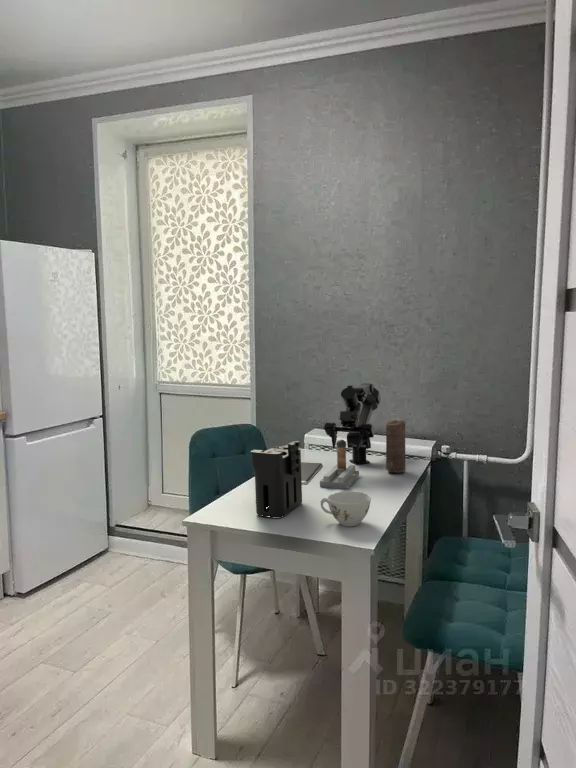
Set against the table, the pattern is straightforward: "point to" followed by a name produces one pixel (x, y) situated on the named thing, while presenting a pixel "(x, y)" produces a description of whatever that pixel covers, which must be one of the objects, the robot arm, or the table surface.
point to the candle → (395, 446)
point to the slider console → (339, 478)
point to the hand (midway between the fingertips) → (345, 448)
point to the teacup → (348, 507)
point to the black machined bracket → (277, 479)
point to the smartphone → (309, 471)
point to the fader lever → (341, 456)
